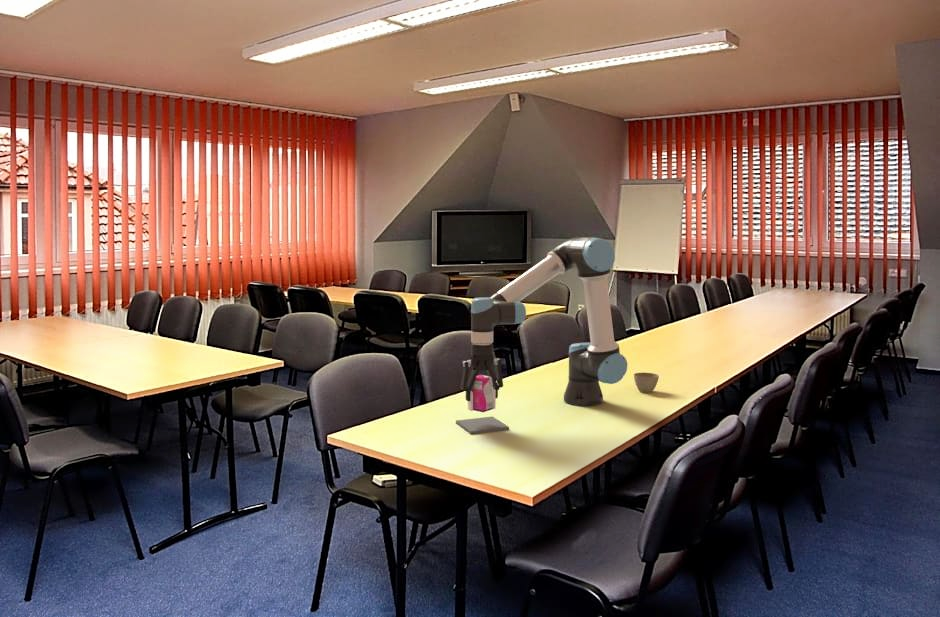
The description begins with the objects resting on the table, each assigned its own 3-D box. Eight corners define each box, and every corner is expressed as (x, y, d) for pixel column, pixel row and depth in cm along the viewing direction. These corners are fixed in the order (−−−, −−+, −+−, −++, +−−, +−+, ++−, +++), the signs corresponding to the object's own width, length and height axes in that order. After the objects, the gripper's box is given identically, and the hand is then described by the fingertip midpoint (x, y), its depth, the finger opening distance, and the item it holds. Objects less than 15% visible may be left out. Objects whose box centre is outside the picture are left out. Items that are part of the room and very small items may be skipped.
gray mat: (492, 419, 263) (492, 416, 262) (509, 429, 250) (509, 426, 249) (455, 423, 257) (455, 420, 257) (470, 434, 244) (470, 431, 244)
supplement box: (480, 406, 257) (480, 374, 255) (493, 409, 253) (493, 376, 252) (469, 409, 252) (469, 376, 251) (483, 412, 249) (483, 379, 247)
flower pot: (661, 390, 304) (662, 373, 303) (653, 396, 296) (654, 378, 295) (638, 387, 310) (638, 371, 309) (629, 392, 301) (630, 375, 300)
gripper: (505, 339, 257) (504, 403, 260) (449, 343, 249) (449, 409, 252) (514, 343, 250) (513, 408, 253) (457, 346, 243) (457, 414, 245)
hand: (481, 408), depth 253 cm, fingers closed on supplement box, 8 cm apart
